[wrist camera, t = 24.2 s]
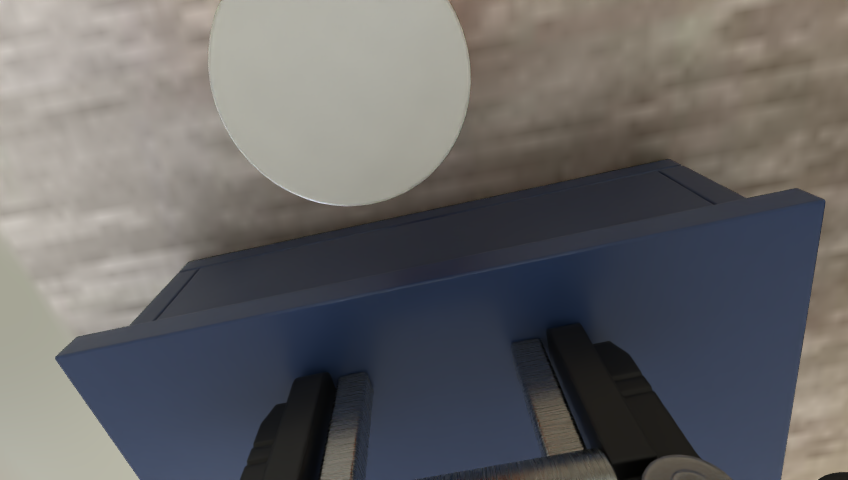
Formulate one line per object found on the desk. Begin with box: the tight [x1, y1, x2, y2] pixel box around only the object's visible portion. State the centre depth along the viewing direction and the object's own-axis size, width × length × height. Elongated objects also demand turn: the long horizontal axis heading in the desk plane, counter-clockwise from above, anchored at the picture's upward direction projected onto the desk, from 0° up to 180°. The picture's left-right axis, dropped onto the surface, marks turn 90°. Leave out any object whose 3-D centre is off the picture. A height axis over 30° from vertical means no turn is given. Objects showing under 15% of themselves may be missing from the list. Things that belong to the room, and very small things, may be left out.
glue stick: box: [208, 0, 471, 206], centre depth 10 cm, size 4×4×8 cm
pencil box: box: [129, 159, 745, 326], centre depth 16 cm, size 16×17×5 cm
